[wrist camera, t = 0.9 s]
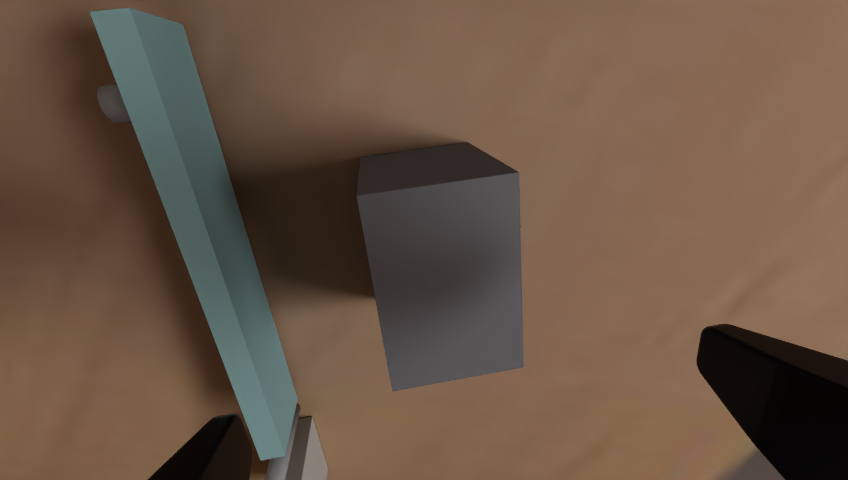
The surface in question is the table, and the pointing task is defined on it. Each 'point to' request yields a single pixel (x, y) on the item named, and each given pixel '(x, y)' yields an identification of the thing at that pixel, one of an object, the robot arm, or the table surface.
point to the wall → (300, 454)
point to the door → (199, 209)
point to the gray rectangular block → (443, 261)
